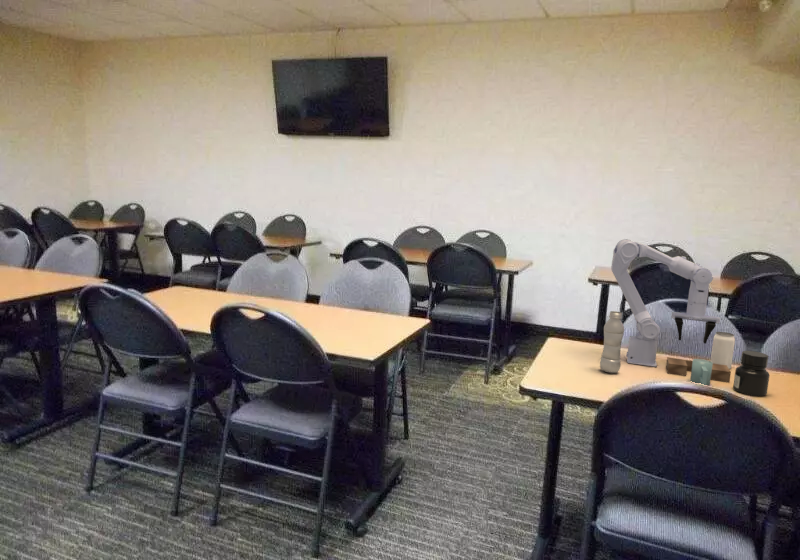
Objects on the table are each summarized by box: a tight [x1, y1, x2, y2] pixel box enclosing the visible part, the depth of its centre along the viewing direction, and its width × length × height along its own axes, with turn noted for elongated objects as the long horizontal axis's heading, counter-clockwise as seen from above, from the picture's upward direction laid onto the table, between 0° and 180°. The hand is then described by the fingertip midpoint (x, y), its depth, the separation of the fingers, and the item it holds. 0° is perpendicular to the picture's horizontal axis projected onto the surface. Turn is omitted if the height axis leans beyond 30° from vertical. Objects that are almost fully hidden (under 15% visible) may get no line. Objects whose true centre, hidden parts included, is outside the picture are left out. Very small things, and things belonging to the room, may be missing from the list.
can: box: [710, 331, 736, 370], centre depth 198 cm, size 6×6×12 cm
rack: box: [665, 357, 731, 383], centre depth 188 cm, size 18×8×4 cm, turn 69°
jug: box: [689, 358, 713, 386], centre depth 178 cm, size 6×11×7 cm, turn 159°
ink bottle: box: [732, 350, 770, 397], centre depth 173 cm, size 10×9×12 cm
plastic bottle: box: [599, 310, 625, 374], centre depth 185 cm, size 6×7×20 cm
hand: (692, 341), depth 195 cm, fingers open, 7 cm apart
